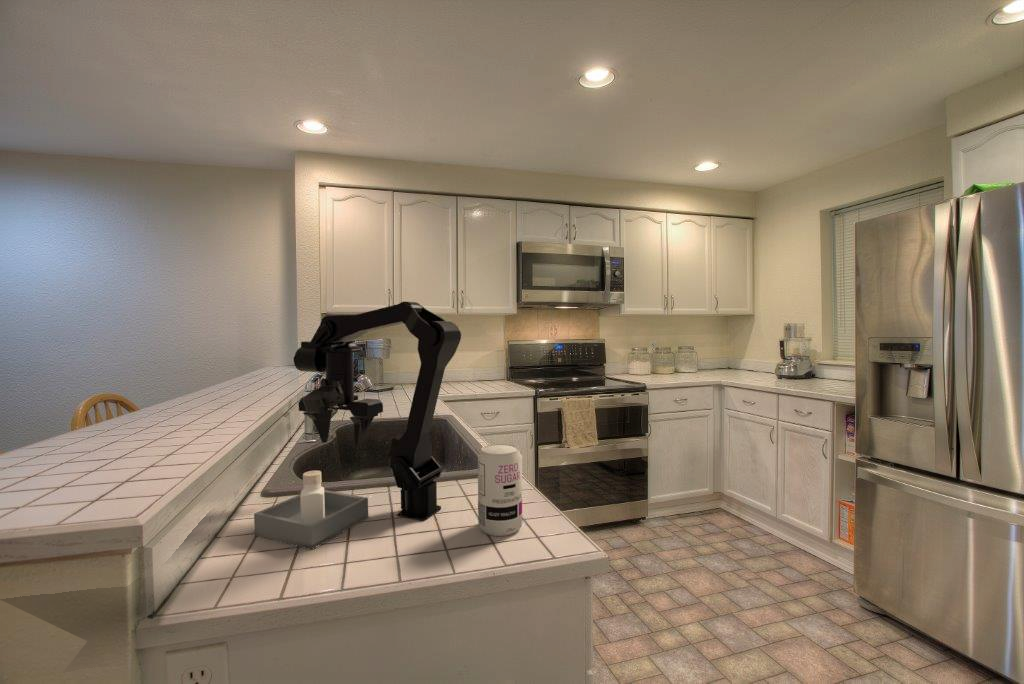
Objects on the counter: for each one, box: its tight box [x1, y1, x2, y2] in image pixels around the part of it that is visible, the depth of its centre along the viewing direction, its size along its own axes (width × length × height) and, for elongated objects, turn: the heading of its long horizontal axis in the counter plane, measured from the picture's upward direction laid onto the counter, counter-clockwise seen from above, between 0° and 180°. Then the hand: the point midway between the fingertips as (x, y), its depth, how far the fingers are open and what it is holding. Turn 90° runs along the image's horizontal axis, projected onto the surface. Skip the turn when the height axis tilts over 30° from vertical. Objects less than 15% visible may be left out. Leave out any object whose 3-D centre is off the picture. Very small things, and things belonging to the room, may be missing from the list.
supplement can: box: [477, 443, 523, 537], centre depth 86 cm, size 8×8×15 cm
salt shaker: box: [299, 470, 325, 524], centre depth 87 cm, size 4×4×10 cm
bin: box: [253, 489, 369, 550], centre depth 88 cm, size 14×14×4 cm
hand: (341, 444), depth 101 cm, fingers open, 9 cm apart
